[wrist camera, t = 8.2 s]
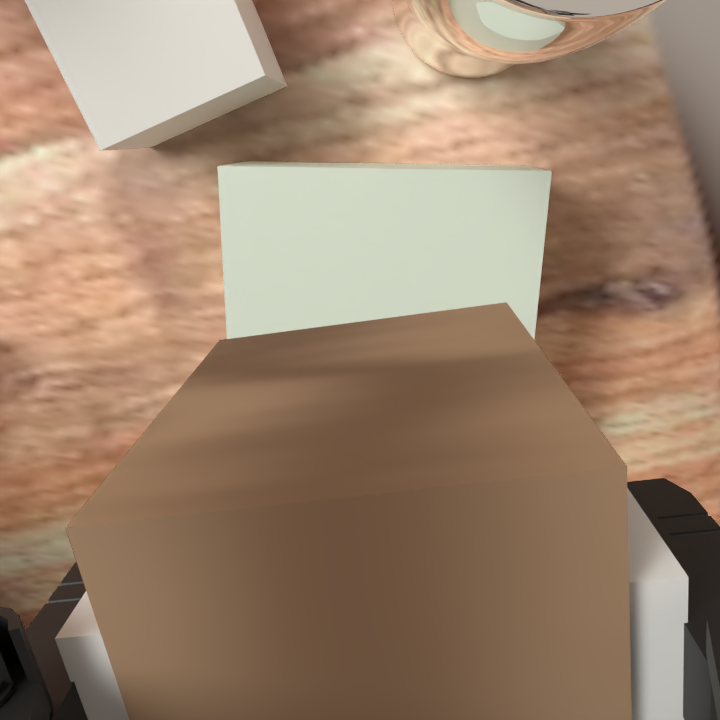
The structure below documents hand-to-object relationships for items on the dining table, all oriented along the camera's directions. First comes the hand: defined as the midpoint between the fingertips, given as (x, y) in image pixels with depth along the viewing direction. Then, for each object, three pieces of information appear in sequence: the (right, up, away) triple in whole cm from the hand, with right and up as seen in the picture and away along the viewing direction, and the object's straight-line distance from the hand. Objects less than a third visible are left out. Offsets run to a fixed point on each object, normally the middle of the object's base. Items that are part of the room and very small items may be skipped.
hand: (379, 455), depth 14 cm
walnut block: (0, 0, 0) cm, 0 cm away
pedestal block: (0, +5, +14) cm, 15 cm away
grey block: (-7, +14, +11) cm, 19 cm away
